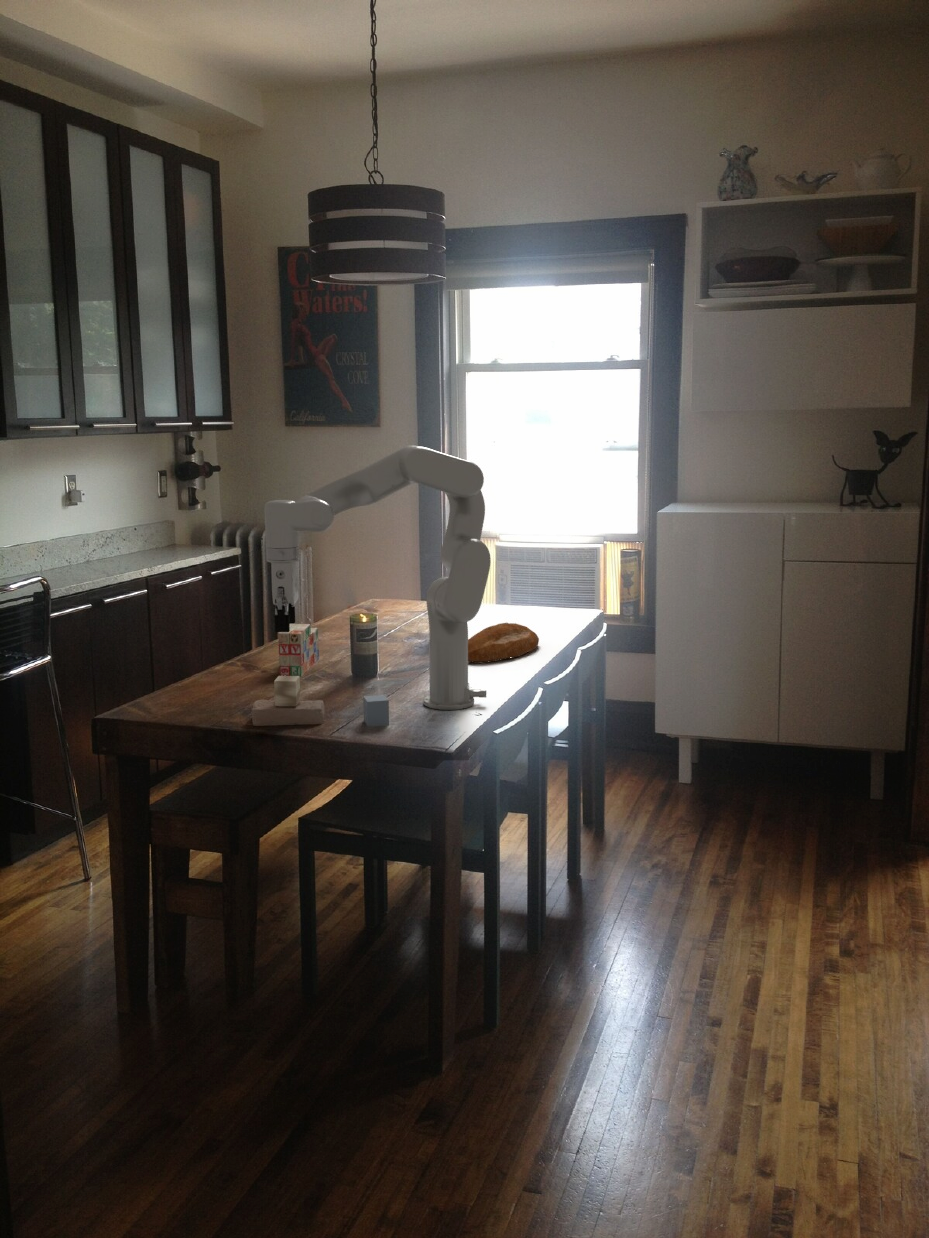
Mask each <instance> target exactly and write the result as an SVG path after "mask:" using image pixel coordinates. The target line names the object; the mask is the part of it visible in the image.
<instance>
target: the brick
mask: <svg viewBox="0 0 929 1238" xmlns="http://www.w3.org/2000/svg"><path fill="white" fill-rule="evenodd" d="M324 703H325V702H324V700H322V699H317V700H309V699H308V700H307V699H306V700H300V702H299V703H298V705H297V706H275V700H270V699H267V700H266V699H259V700H255V701H254V703H253V705H252V706H253V707H252V710H251V711H252V712H251V719H252V725H253V726H255V727H257V726H259V727H261V726H265V727H266V726H292V725H293V726H294V725H298V726H299V725H322V724H323V723H324V722H325V721H324V720H325V716H326V713H325V712H326V711H325V708H326V707H325V704H324Z"/></svg>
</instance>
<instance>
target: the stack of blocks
mask: <svg viewBox="0 0 929 1238" xmlns="http://www.w3.org/2000/svg"><path fill="white" fill-rule="evenodd" d="M277 633H278V634H277V635H278V637H277V639H278V659H279V661H278V663H279V664H278V665H279V666H278V668H279V676H280V675H283V676H284V675H286V676H300V677H303V676H304V674H306V673H307V672H308V671H309V670H310V669H311V667H312V666H313V665H314V664H315V663H316V662H317V661H318V660H319V659H320V652H319V651H320V650H319V649H320V645H319V644H320V643H319V642H320V641H319V628H318V627H311V624H310V623H294V624H290V631H289V632H277ZM309 668H310V669H309ZM306 671H307V672H306ZM305 672H306V673H305Z"/></svg>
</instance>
